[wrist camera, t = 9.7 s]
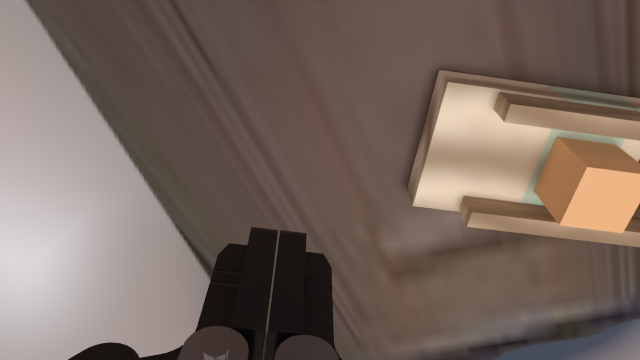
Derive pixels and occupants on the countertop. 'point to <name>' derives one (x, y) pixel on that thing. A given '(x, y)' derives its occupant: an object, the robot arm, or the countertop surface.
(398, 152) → the countertop surface
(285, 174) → the countertop surface
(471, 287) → the countertop surface
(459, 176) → the cream tray
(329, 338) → the robot arm
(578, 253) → the countertop surface
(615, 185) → the block
